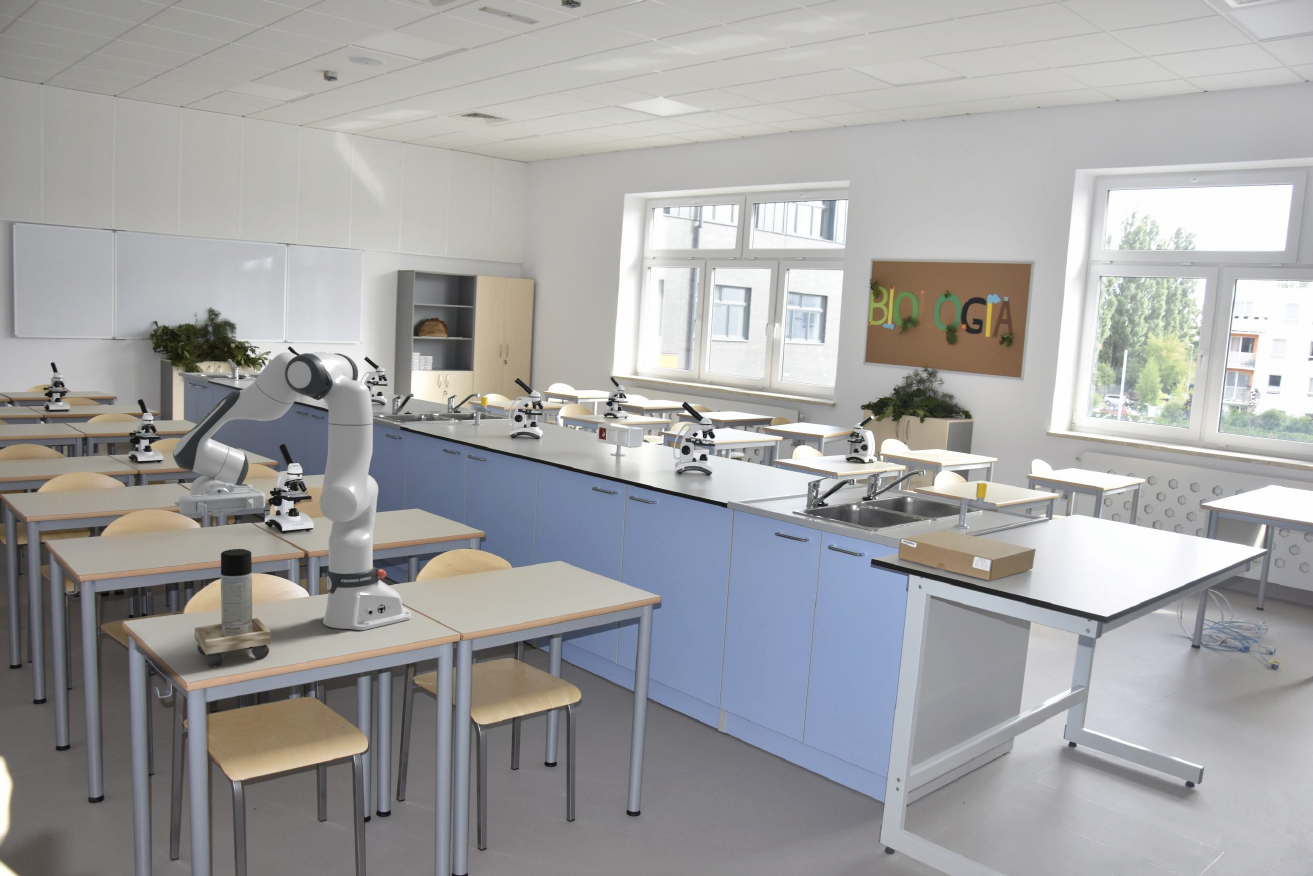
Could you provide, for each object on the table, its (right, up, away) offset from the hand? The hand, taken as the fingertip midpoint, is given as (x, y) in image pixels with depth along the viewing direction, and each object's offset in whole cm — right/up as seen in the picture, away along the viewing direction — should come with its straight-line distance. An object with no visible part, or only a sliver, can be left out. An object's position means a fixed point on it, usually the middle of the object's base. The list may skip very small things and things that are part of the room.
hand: (229, 507), depth 237 cm
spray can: (+8, -29, -14) cm, 33 cm away
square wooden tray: (+7, -34, -14) cm, 37 cm away
